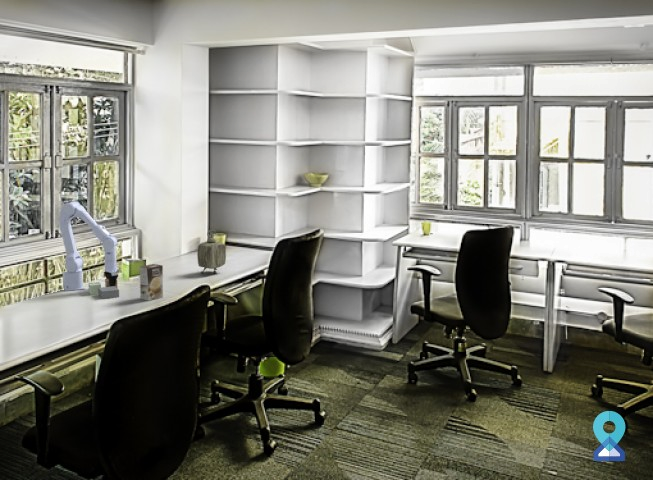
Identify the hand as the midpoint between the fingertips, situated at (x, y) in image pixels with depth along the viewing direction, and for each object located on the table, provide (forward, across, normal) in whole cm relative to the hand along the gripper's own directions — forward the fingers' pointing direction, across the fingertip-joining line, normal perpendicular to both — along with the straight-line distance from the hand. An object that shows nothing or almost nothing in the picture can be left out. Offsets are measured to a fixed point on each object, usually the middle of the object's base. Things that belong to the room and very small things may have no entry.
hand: (111, 286), depth 366 cm
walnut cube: (+1, 0, 0) cm, 1 cm away
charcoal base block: (+2, -13, +4) cm, 14 cm away
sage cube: (+2, -5, +9) cm, 10 cm away
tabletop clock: (+2, +15, -59) cm, 61 cm away
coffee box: (+2, -25, -14) cm, 29 cm away
